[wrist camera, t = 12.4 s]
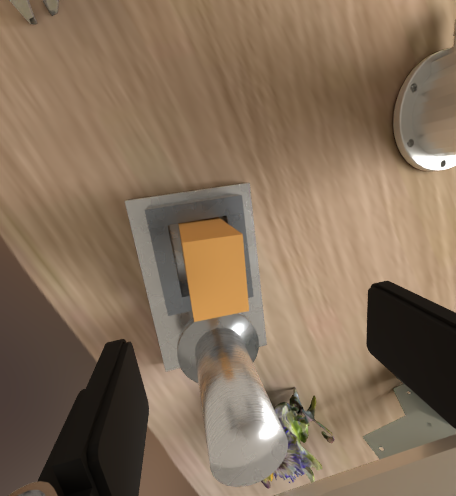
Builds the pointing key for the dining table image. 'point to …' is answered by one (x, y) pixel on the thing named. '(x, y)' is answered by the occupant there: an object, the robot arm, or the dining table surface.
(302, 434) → the passion flower
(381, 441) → the bracket
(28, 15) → the caliper
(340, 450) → the dining table surface
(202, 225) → the tan rectangular block
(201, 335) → the gray socket post fixture
